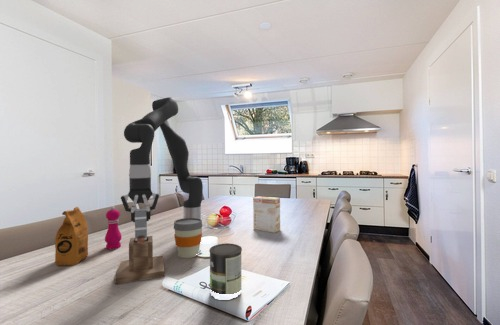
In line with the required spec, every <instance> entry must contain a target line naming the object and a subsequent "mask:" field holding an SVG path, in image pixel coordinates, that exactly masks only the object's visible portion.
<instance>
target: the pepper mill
mask: <svg viewBox="0 0 500 325" xmlns="http://www.w3.org/2000/svg"><path fill="white" fill-rule="evenodd" d="M120 216H121V214H120V211H119V210H118V209H116V207H115V206H113V205H112V206H110V209H109V210H108V211H107V212H106V213H105V218H106V219H107V221H106V222H107V225H108V226H107V227H108V228H107V231H106V234H105V236H104V242H105V243H106V245H105V248H106V250H115V249H119V248H120V247H121V244H122V243H121V240H122V237H123V236H122V233H121V231H120V229H119V222H120V221H119V218H120Z"/></svg>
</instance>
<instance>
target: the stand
mask: <svg viewBox="0 0 500 325" xmlns="http://www.w3.org/2000/svg"><path fill="white" fill-rule="evenodd" d="M153 239H154V238H153V235H147V241H144V237H142V238H137V242H135V237H130V239H129V243H128V259H127V260H121V261H120V263H119V265H118V269H117V272H116V275H115V279H114V280H115V282H114V283H115V285H118V284H125V283H132V282H137V281H143V280H144V281H145V280H149V279H156V278H162V277H165V263H164V255H157V256H154V252H153V250H154V248H153V247H154V246H153V244H154V243H153V241H154V240H153Z"/></svg>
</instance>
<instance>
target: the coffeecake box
mask: <svg viewBox="0 0 500 325" xmlns="http://www.w3.org/2000/svg"><path fill="white" fill-rule="evenodd" d="M252 200H253V202H252V203H253V204H252V206H253V208H252V209H253V213H252V214H253V215H252V216H253V219H252V220H253V223H252V224H253V230H256V231H263V232H269V233H275V234H276V233H277V232H279V231H281V198H280V197H273V196H259V195H258V196H254V197H253V199H252Z"/></svg>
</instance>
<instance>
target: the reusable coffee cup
mask: <svg viewBox="0 0 500 325" xmlns="http://www.w3.org/2000/svg"><path fill="white" fill-rule="evenodd" d="M202 221H203V220H202V218H201V219H198V218H184V219H183V218H179V219H175V220H174V223H173V230H174V242H175V243H174V244H175V246H176V248H177V255H178V257H179V258H182V259H190V258H194V257H196V256H195V255H196V254H198V253H199V252H200V246H201V245H200V244H201V243H202V239H201V236H202V237H203V231H202V232H201V228H202V229H203V222H202ZM200 242H201V243H200ZM198 255H199V254H198Z"/></svg>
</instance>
